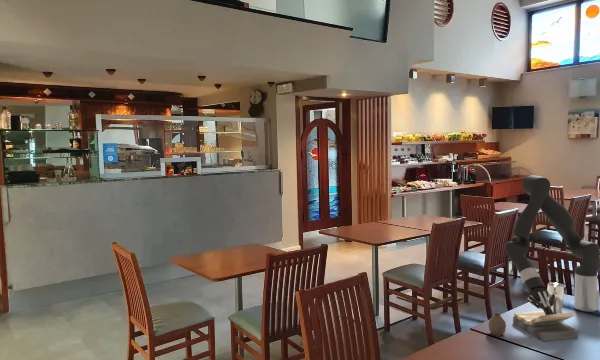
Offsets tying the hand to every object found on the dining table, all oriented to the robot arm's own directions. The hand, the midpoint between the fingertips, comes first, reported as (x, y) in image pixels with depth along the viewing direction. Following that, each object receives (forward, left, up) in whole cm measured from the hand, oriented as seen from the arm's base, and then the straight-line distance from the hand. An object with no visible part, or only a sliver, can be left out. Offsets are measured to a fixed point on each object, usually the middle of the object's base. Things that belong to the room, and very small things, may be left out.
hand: (550, 316), depth 194 cm
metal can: (-13, -20, -8) cm, 25 cm away
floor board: (+1, -4, -8) cm, 9 cm away
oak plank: (0, 0, -2) cm, 2 cm away
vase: (+22, -2, -8) cm, 24 cm away
